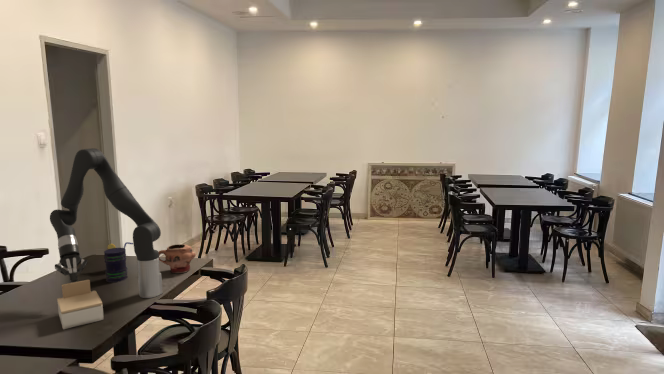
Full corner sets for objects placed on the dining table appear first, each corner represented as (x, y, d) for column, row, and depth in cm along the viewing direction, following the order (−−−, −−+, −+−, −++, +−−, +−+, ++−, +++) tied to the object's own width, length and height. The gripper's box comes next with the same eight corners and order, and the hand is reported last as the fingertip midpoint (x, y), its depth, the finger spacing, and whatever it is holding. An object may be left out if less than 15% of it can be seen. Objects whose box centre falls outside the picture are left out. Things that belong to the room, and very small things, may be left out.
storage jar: (105, 283, 214) (102, 254, 212) (107, 277, 223) (104, 248, 221) (127, 280, 218) (125, 251, 216) (128, 274, 227) (126, 246, 225)
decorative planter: (155, 276, 224) (153, 250, 222) (159, 269, 235) (157, 244, 233) (195, 273, 228) (194, 247, 226) (197, 266, 240) (196, 241, 238)
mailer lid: (95, 292, 186) (94, 278, 185) (102, 304, 173) (101, 289, 172) (57, 300, 178) (55, 285, 177) (61, 313, 165) (60, 298, 164)
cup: (137, 266, 240) (135, 240, 238) (132, 271, 232) (130, 243, 230) (110, 267, 239) (108, 240, 237) (104, 272, 231) (102, 244, 229)
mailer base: (96, 306, 187) (95, 293, 186) (103, 319, 174) (102, 305, 173) (58, 315, 179) (57, 301, 178) (63, 329, 166) (61, 314, 165)
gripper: (50, 245, 187) (56, 281, 179) (85, 240, 195) (92, 274, 187) (51, 254, 192) (56, 289, 184) (85, 249, 200) (91, 282, 192)
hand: (74, 281), depth 185 cm, fingers closed
